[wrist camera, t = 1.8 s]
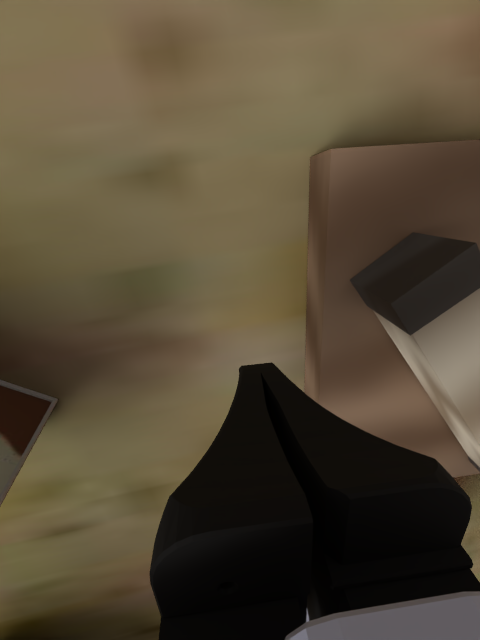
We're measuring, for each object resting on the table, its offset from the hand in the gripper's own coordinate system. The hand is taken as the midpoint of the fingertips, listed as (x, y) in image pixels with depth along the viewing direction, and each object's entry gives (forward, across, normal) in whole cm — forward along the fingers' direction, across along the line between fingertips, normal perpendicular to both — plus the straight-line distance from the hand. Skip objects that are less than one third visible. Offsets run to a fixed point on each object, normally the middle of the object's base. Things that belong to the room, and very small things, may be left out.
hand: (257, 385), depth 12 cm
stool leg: (+2, -11, +3) cm, 11 cm away
